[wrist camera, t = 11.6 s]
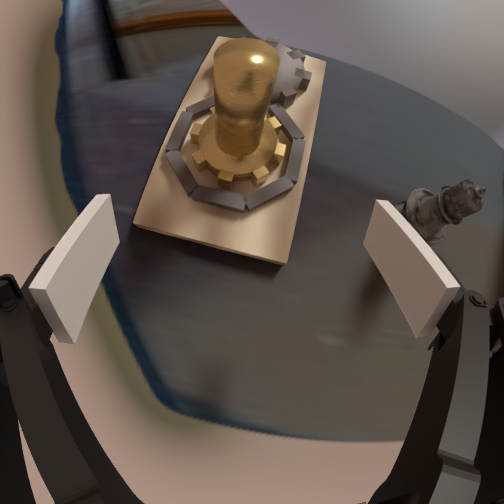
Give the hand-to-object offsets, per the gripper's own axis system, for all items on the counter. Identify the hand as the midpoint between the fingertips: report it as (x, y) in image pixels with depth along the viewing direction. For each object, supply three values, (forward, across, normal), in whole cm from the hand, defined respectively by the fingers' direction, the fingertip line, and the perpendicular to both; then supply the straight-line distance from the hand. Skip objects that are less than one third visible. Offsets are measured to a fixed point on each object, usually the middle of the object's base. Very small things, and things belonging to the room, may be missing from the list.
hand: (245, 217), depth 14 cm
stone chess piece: (+12, +19, -6) cm, 23 cm away
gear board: (+18, +1, +1) cm, 18 cm away
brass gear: (+15, 0, -1) cm, 15 cm away
